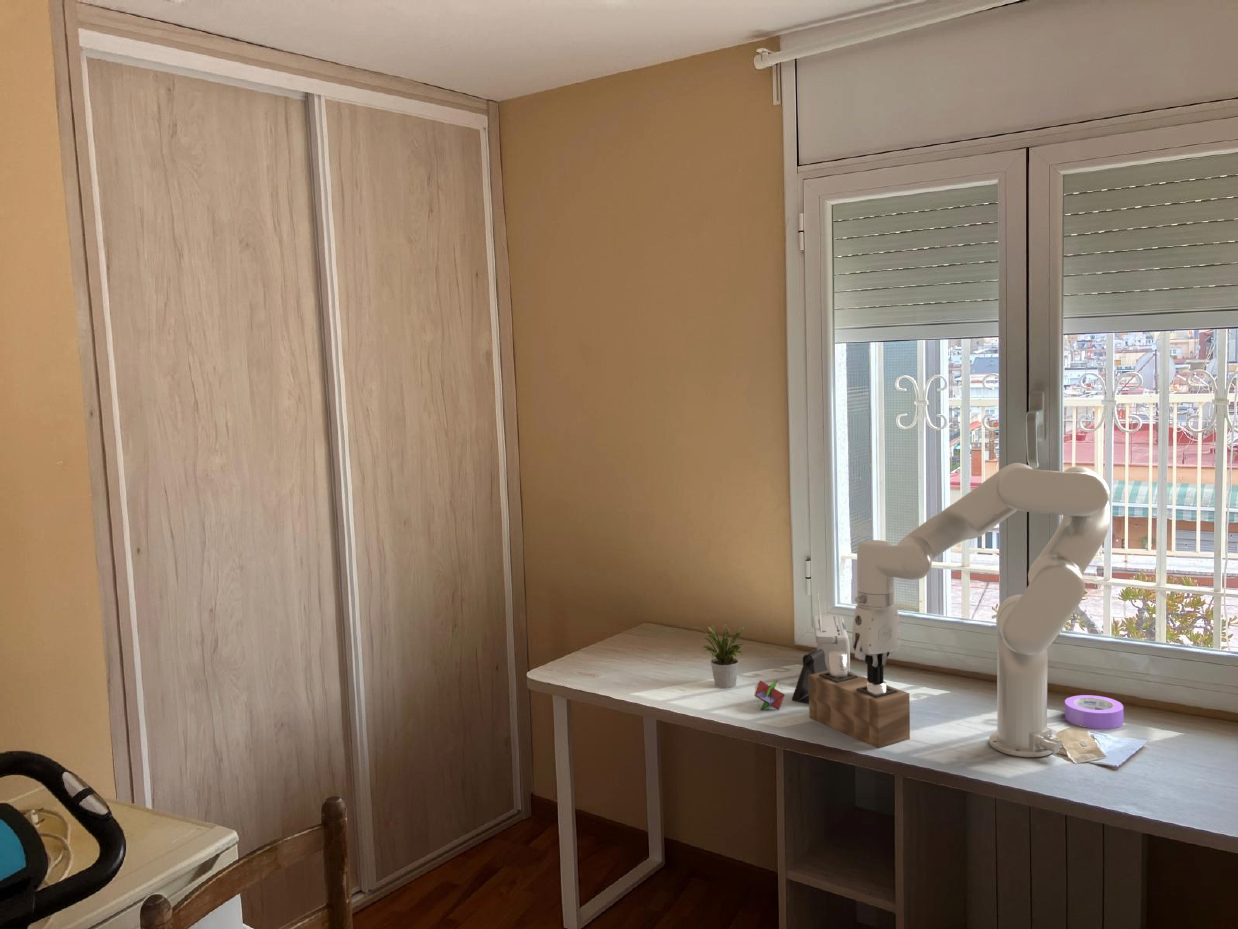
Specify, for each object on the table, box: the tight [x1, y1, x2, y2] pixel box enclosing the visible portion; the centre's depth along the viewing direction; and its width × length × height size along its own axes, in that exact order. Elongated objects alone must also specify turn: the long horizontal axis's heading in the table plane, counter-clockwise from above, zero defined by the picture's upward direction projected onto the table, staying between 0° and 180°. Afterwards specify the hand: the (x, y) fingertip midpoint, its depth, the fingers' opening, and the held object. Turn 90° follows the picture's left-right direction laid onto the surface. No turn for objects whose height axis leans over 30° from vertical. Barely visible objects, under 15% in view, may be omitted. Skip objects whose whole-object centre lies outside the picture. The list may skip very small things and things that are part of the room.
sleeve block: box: [808, 670, 911, 749], centre depth 218 cm, size 22×9×10 cm, turn 30°
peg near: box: [867, 680, 887, 695], centre depth 213 cm, size 4×4×9 cm
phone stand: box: [791, 647, 828, 705], centre depth 236 cm, size 9×6×12 cm, turn 52°
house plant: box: [694, 621, 747, 689], centre depth 249 cm, size 14×14×16 cm
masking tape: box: [1064, 694, 1124, 730], centre depth 218 cm, size 12×12×4 cm
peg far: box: [829, 651, 848, 680], centre depth 223 cm, size 4×4×9 cm
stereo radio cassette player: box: [812, 590, 851, 672], centre depth 254 cm, size 21×8×20 cm, turn 171°
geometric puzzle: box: [754, 679, 785, 711], centre depth 232 cm, size 7×7×8 cm
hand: (875, 682), depth 212 cm, fingers closed
